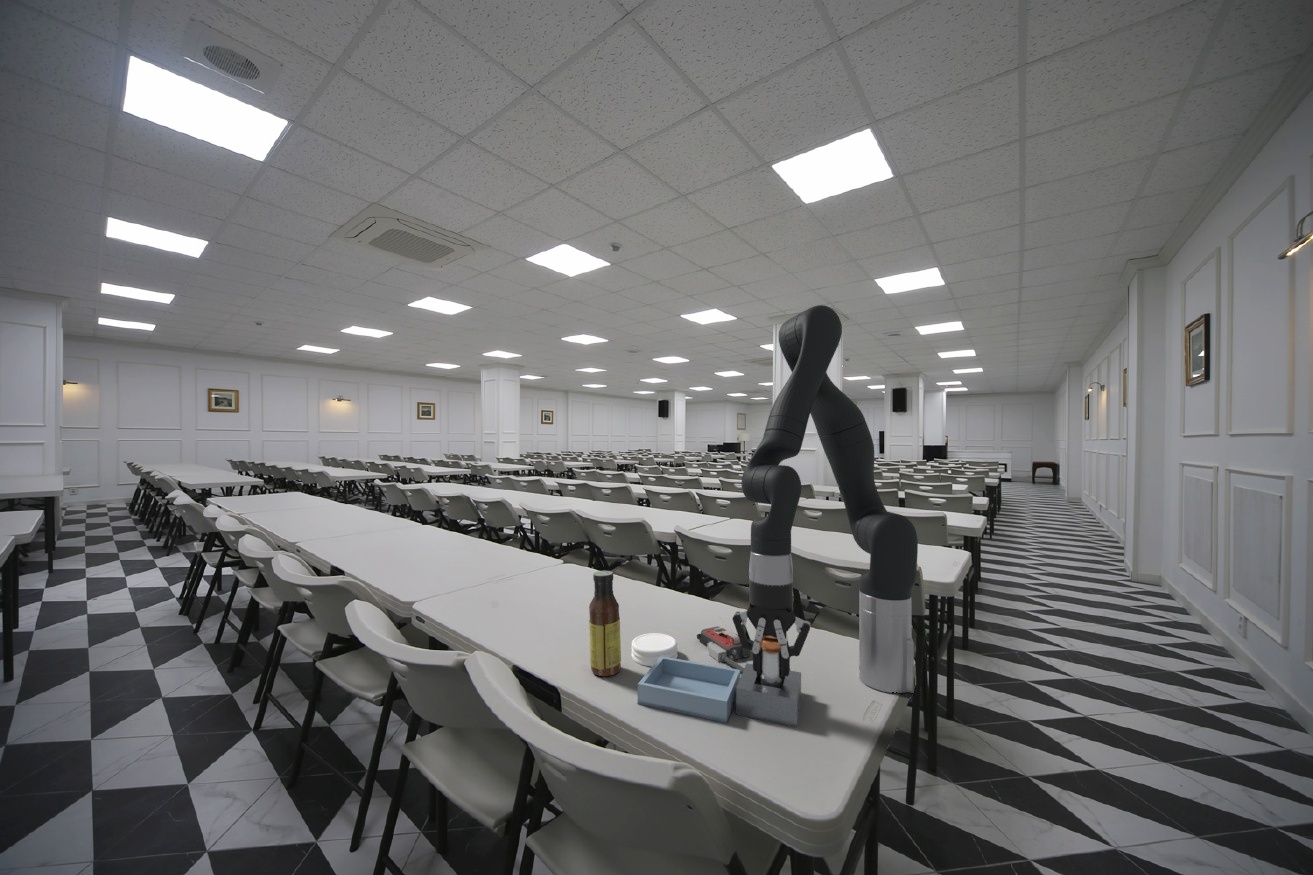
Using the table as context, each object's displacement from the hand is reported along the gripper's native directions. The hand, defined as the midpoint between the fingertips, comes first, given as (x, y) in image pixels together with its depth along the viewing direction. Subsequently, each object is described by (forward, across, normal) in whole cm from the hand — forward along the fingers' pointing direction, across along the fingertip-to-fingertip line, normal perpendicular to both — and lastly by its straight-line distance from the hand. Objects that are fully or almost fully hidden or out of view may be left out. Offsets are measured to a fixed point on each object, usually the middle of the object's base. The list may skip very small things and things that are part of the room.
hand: (771, 674), depth 84 cm
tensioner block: (+5, 0, -1) cm, 6 cm away
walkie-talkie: (+6, +11, -18) cm, 22 cm away
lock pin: (+5, 0, 0) cm, 5 cm away
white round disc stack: (+6, +26, -11) cm, 29 cm away
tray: (+5, +14, +2) cm, 15 cm away
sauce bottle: (+5, +33, -1) cm, 34 cm away
